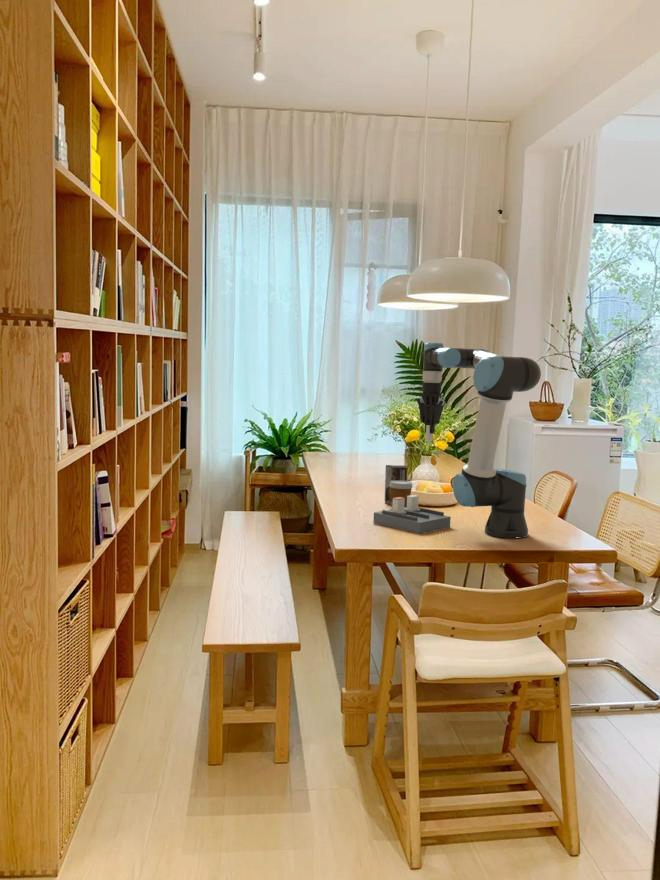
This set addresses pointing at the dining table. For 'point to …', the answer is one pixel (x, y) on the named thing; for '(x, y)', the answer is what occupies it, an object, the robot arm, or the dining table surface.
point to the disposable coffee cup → (400, 490)
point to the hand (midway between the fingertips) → (429, 441)
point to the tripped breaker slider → (398, 505)
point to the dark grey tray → (413, 518)
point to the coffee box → (393, 478)
